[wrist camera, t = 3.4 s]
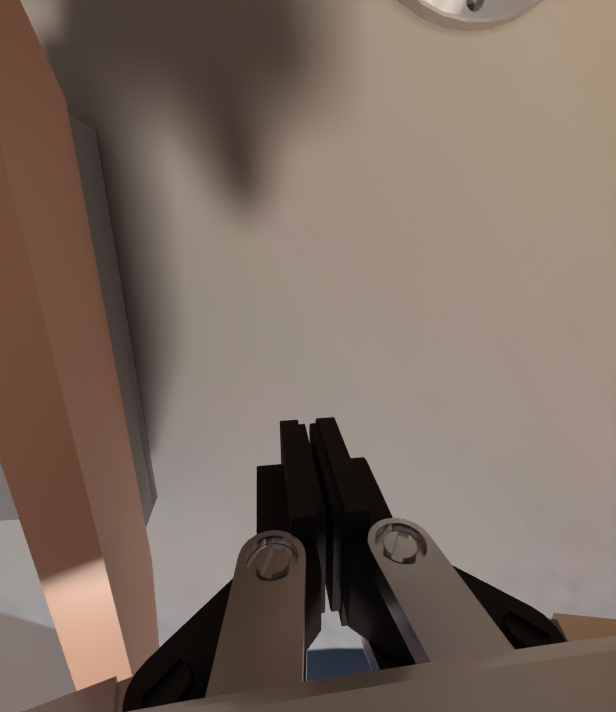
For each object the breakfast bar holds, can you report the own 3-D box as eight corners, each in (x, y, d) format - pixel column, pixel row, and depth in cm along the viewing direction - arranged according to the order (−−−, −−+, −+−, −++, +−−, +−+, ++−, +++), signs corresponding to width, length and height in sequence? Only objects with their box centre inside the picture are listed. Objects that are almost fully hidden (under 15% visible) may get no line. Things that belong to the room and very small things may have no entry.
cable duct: (-166, 121, 17) (-331, 81, 12) (95, 129, 18) (37, 96, 13) (-19, 511, 24) (-85, 581, 19) (156, 497, 25) (134, 558, 21)
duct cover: (-259, -316, 3) (-98, -252, 3) (31, 93, 13) (65, 97, 13) (140, 883, 11) (177, 859, 11) (132, 565, 20) (151, 558, 21)
